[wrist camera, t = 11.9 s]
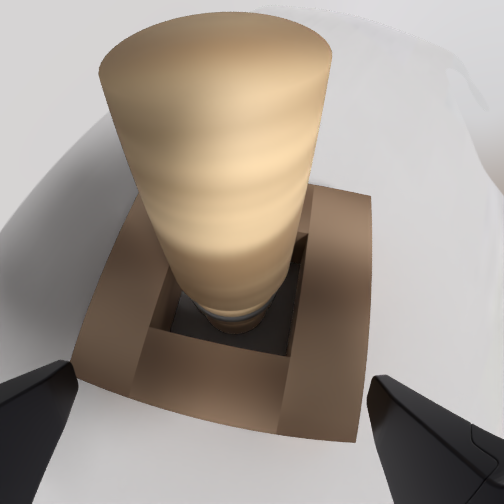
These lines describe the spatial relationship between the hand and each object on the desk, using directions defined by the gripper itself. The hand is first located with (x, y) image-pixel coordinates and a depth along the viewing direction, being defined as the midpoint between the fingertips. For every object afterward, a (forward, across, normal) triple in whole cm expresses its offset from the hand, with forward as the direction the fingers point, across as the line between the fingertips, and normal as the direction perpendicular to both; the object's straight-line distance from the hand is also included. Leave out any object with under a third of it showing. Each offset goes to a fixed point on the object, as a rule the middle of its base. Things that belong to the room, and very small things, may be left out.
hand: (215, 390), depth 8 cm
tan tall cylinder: (+8, 0, +1) cm, 8 cm away
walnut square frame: (+8, 0, +1) cm, 8 cm away
